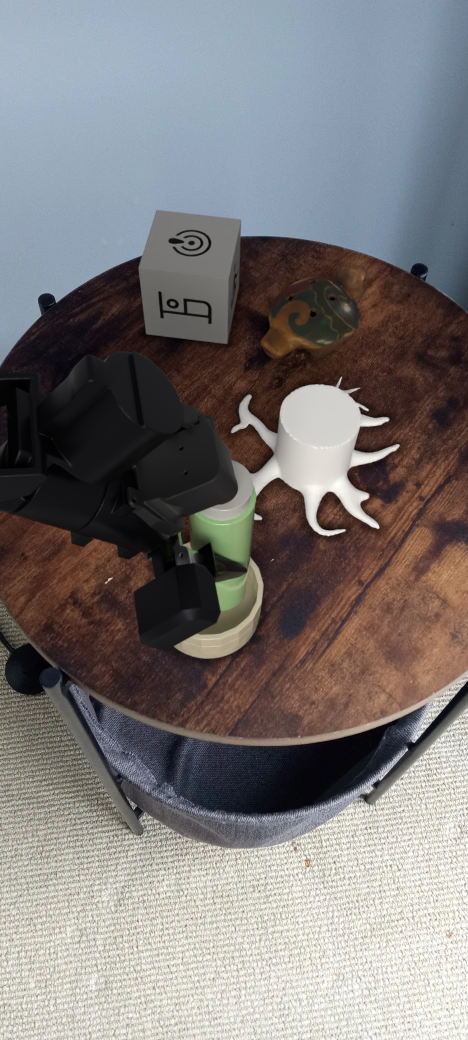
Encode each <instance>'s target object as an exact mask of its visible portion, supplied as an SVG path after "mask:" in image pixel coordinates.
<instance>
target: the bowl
mask: <svg viewBox="0 0 468 1040" xmlns="http://www.w3.org/2000/svg"><path fill="white" fill-rule="evenodd" d="M182 544H183V546H186V547H188V548H190V541H188V542H187V543H182ZM153 579H155V578H154V577H153ZM263 596H264V581H263V579H262V574H261V571H260V568H259V566H258V565H257V563H256V562H255V561H254V560H253V558H252V557H251V556H250V564H249V574H248V584H247V591H246V595H245V597H244V598H243V600H242V601H241V602H240V603H239V604H238V605H237V606H235V607H234V608H231V609H229V610H224V611H221V613H220V616H219V618H218V621H217V623H216V624H214V625H212V626H210V627H208V628H207V629H205V630H203V631H201V632H199V633H197V634H196V635H194V636H192V637H190V638H188V639H186V640H185V641H183V642H181V643H179V644H177V645H175V646H174V647H173V648H175V649H176V650H178V651H180V652H181V653H183V654H185V655H187V656H190V657H194V658H198V659H217V658H222V657H226V656H229V655H231V654H233V653H235V652H236V651H238V650H240V649H241V648H242V647H243V646H245V645H246V644H247V643H248V642H249V641H250V640H251V638H252V637H253V635H254V634H255V632H256V630H257V628H258V625H259V621H260V617H261V611H262V605H263Z"/></svg>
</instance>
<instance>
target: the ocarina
mask: <svg viewBox="0 0 468 1040" xmlns="http://www.w3.org/2000/svg"><path fill="white" fill-rule="evenodd" d="M367 283H368V273H367V270H366V269H365V267H364V266H361V265H357V264H355V265H353V264H352V265H351V264H350V265H346V266H342V267H341V268H340V269H339V270H337V271H336V273H335V274H334V276H333V277H332V280H330V279H328V278H326V277H323V276H319V275H317V276H316V275H314V276H308V277H305V278H302V279H299V280H297V281H295V282H293V283H290V284H289V285H288V286H286V287H285V288H283V289H282V290H281V291H280V292H279V293H278V294H277V295H276V296H275V298H274V299H273V301H272V302H271V304H270V307H269V310H268V324H269V329H268V330H267V332H266V333H265V335H264V336H263V337H262V338H261V339H260V346H261V347H262V349H263V351H264V353H265V354H266V355H267V356H268V357H270V358H271V359H273V360H279V359H282V358H284V357H285V356H286V355H288V354H290V353H291V352H293V351H294V350H298V349H303V350H306V351H308V353H309V355H311V356H312V357H313V358H314V359H316V360H319V359H322V358H324V357H325V356H327V355H329V354H330V353H332V352H333V351H334V350H336V349H337V348H338V347H339V346H341V345H342V344H345V343H348V342H350V341H351V339H352V338H353V337H354V336H355V334H356V333H357V331H358V329H359V328H360V327H359V326H360V323H361V312H360V309H359V307H358V304H359V302H360V301H361V299H362V297H363V295H364V293H365V291H366V288H367Z"/></svg>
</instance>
